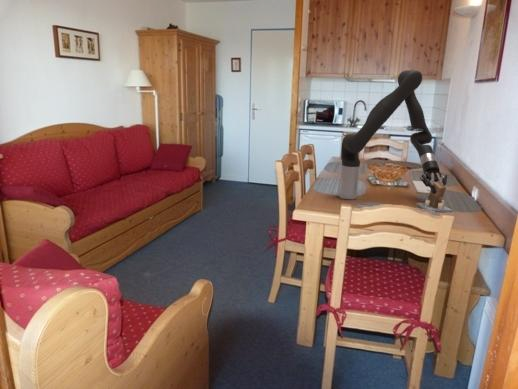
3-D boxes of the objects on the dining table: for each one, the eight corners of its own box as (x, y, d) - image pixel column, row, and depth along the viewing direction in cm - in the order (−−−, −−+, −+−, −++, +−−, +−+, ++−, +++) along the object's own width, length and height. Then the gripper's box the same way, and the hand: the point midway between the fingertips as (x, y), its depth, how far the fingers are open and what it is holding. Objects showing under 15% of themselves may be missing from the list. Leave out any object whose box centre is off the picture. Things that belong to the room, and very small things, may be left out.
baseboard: (431, 184, 255) (411, 182, 258) (432, 180, 254) (412, 178, 257) (440, 196, 226) (417, 194, 229) (441, 191, 225) (418, 189, 228)
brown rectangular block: (432, 207, 197) (439, 187, 192) (427, 201, 203) (433, 181, 197) (439, 207, 198) (446, 187, 192) (433, 201, 203) (440, 181, 197)
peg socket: (428, 211, 193) (429, 203, 192) (416, 204, 205) (417, 197, 204) (452, 211, 194) (453, 204, 193) (438, 204, 206) (439, 197, 205)
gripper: (419, 159, 200) (428, 189, 191) (446, 160, 202) (456, 189, 193) (412, 167, 206) (421, 197, 198) (438, 168, 208) (448, 197, 199)
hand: (438, 193), depth 195 cm, fingers closed on brown rectangular block, 3 cm apart
